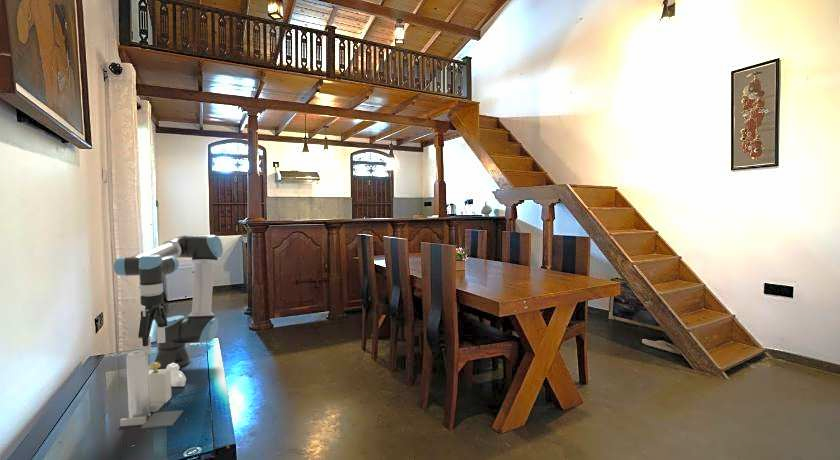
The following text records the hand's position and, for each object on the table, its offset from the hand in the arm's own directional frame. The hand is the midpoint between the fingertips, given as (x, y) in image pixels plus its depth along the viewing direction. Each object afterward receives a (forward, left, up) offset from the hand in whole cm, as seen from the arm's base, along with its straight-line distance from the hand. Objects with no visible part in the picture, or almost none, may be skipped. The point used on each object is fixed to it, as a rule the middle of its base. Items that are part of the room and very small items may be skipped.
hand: (154, 347), depth 158 cm
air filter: (+13, 0, -22) cm, 26 cm away
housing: (+7, 0, -22) cm, 23 cm away
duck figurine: (-14, +2, -22) cm, 26 cm away
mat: (+16, +9, -22) cm, 29 cm away
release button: (0, 0, -10) cm, 10 cm away
